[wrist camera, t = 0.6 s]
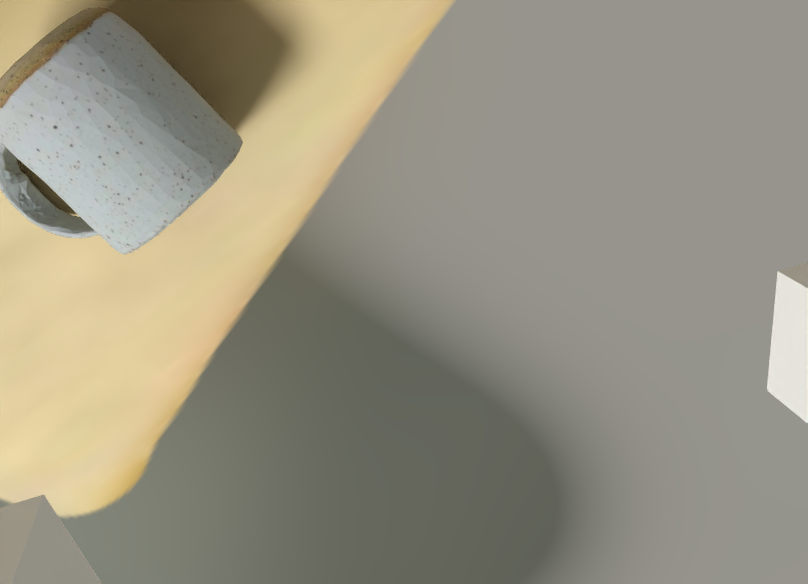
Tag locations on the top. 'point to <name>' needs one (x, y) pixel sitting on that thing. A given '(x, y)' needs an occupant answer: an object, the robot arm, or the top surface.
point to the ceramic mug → (107, 134)
